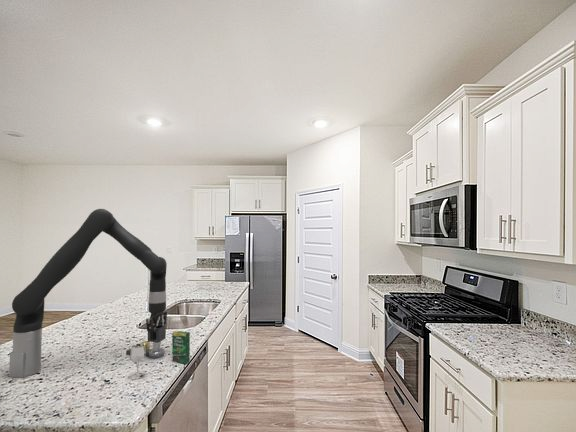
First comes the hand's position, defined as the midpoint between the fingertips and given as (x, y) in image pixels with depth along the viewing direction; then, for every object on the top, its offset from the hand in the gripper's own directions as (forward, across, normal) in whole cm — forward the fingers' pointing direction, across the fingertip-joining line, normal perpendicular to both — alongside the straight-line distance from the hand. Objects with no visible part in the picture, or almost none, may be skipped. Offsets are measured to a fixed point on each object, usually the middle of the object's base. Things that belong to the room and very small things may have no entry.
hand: (156, 337), depth 151 cm
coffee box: (+9, -4, -14) cm, 17 cm away
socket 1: (+8, +5, +9) cm, 13 cm away
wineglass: (+9, -20, -4) cm, 22 cm away
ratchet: (+8, 0, +6) cm, 10 cm away
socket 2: (+1, 0, 0) cm, 1 cm away
